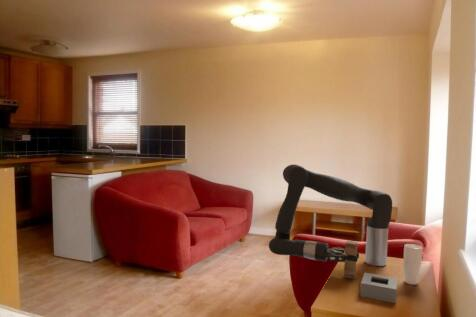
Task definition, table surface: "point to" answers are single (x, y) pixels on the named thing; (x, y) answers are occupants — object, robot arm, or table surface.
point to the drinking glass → (412, 263)
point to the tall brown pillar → (350, 265)
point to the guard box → (379, 287)
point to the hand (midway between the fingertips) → (357, 257)
